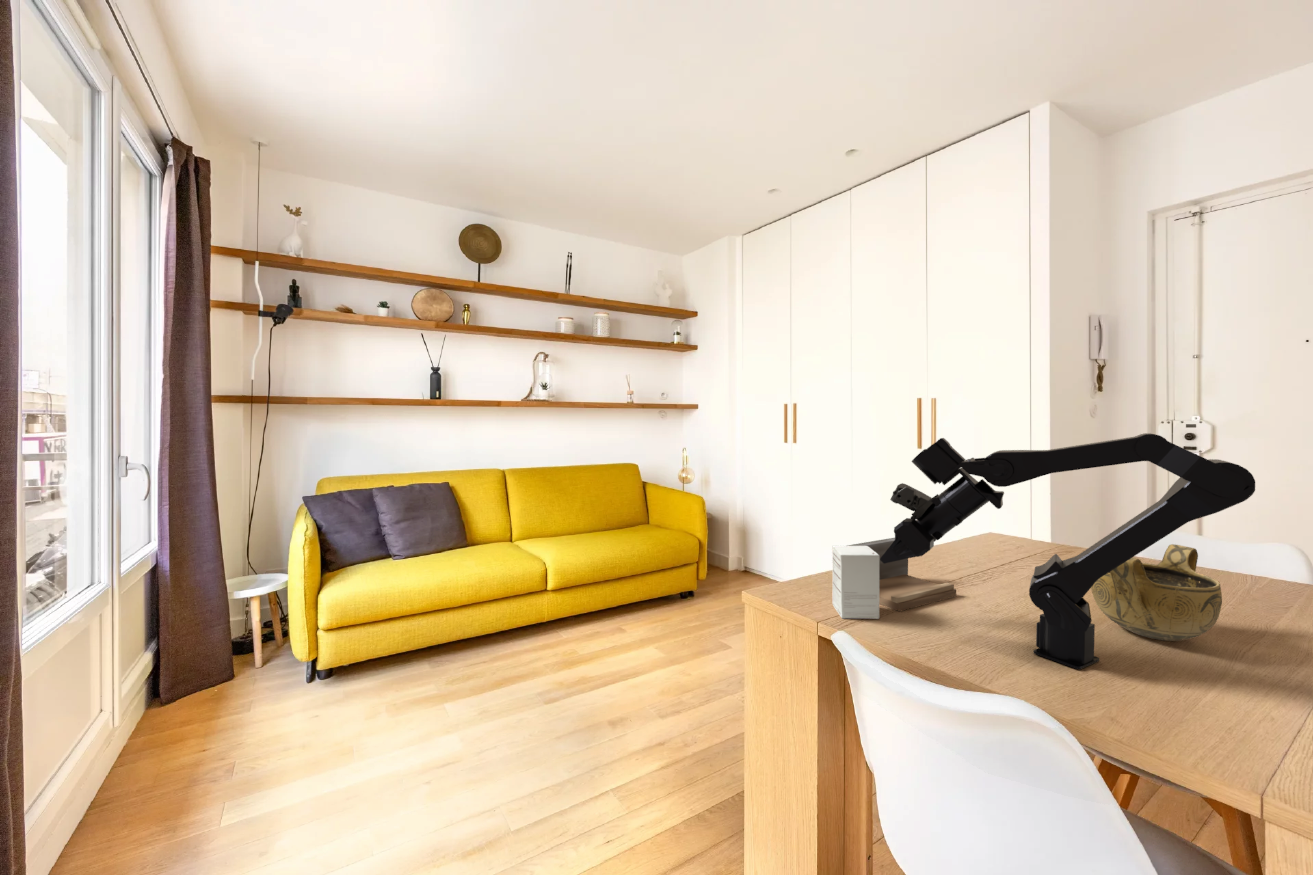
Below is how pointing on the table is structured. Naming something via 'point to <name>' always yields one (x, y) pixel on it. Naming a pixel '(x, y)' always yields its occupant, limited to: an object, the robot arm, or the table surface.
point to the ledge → (904, 582)
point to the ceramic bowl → (1160, 596)
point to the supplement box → (855, 582)
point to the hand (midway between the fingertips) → (888, 555)
